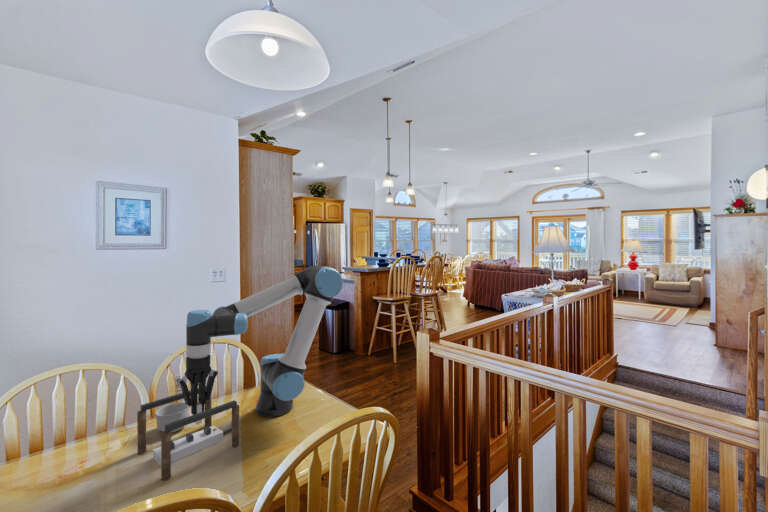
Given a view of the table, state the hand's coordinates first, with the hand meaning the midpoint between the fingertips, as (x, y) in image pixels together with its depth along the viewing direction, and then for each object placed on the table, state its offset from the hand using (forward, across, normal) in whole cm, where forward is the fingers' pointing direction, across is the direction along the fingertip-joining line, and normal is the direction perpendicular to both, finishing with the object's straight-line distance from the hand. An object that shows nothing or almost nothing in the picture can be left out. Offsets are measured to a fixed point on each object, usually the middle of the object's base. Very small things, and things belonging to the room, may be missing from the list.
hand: (197, 422), depth 123 cm
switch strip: (+8, 0, 0) cm, 8 cm away
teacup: (+9, 0, -19) cm, 21 cm away
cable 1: (-6, +3, -10) cm, 12 cm away
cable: (-6, +3, +10) cm, 12 cm away
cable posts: (+8, +3, 0) cm, 9 cm away
